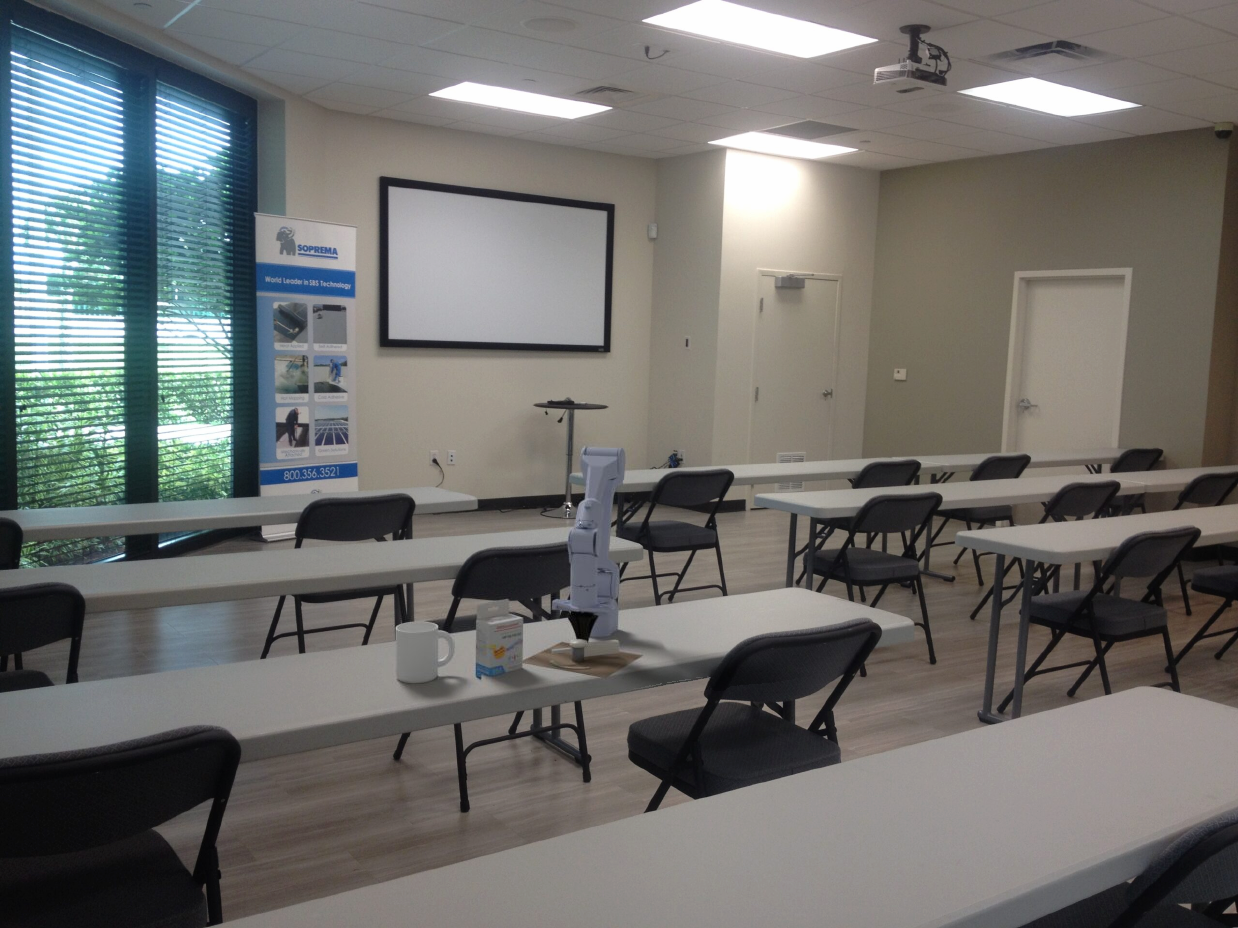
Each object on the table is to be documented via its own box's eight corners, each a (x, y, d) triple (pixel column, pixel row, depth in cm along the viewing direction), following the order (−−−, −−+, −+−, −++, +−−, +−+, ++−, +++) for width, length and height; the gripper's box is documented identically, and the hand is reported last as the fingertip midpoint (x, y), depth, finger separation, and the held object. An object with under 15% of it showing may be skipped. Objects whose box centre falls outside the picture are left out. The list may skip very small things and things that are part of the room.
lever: (555, 665, 202) (555, 646, 201) (548, 660, 205) (549, 641, 204) (620, 658, 208) (621, 639, 207) (613, 653, 211) (614, 635, 211)
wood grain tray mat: (561, 647, 220) (561, 640, 219) (643, 660, 211) (643, 654, 210) (519, 667, 204) (519, 661, 204) (605, 683, 195) (605, 676, 195)
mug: (448, 666, 204) (448, 617, 203) (461, 678, 196) (461, 627, 195) (390, 674, 198) (390, 623, 197) (402, 686, 191) (402, 634, 190)
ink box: (490, 682, 194) (490, 609, 193) (474, 676, 198) (475, 604, 196) (523, 673, 200) (524, 602, 199) (508, 667, 204) (508, 597, 202)
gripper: (545, 583, 211) (544, 645, 212) (605, 591, 204) (604, 655, 206) (561, 577, 217) (560, 637, 218) (620, 585, 211) (619, 647, 212)
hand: (582, 646), depth 212 cm, fingers closed
